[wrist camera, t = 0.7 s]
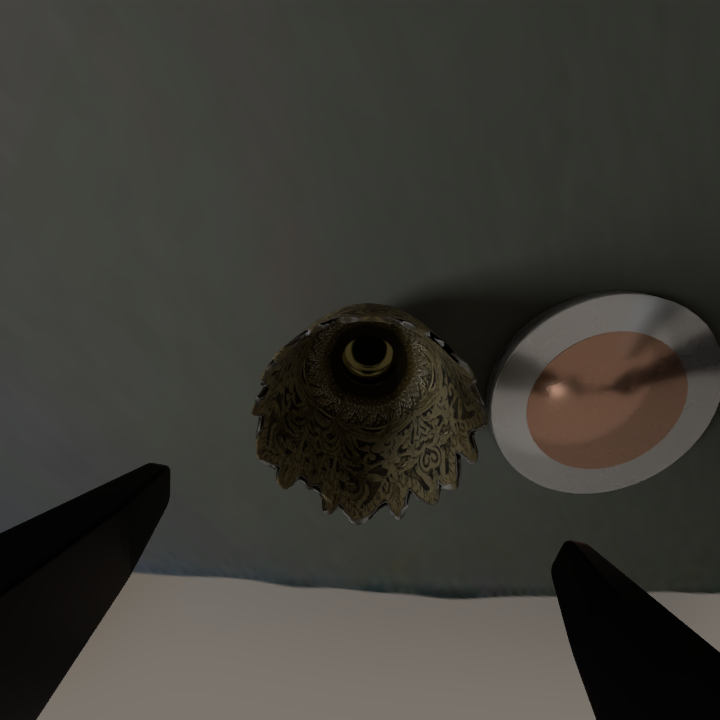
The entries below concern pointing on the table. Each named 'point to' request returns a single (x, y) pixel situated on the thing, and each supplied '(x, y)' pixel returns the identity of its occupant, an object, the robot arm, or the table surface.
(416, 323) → the cup
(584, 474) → the rosette plate
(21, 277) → the table surface
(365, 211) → the table surface
